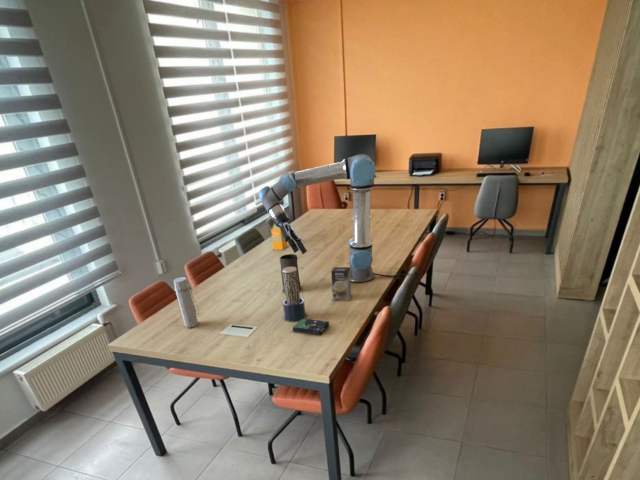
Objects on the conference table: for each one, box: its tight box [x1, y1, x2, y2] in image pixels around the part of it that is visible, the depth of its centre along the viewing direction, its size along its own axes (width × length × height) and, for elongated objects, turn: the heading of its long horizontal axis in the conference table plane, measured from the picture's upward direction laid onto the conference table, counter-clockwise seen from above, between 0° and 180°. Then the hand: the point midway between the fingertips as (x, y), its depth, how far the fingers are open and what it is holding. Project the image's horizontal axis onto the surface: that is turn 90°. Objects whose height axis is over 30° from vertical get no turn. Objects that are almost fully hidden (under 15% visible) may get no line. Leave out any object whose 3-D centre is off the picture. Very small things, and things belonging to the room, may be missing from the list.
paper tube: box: [283, 267, 301, 305], centre depth 224 cm, size 7×7×25 cm
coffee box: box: [330, 266, 352, 301], centre depth 239 cm, size 9×6×16 cm
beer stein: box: [279, 253, 302, 293], centre depth 258 cm, size 15×11×20 cm
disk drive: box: [292, 318, 330, 336], centre depth 217 cm, size 10×3×15 cm
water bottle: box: [173, 276, 200, 329], centre depth 232 cm, size 9×8×25 cm
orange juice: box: [270, 222, 288, 251], centre depth 328 cm, size 8×9×20 cm
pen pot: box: [282, 297, 306, 322], centre depth 229 cm, size 10×10×8 cm
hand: (301, 252), depth 232 cm, fingers open, 13 cm apart
